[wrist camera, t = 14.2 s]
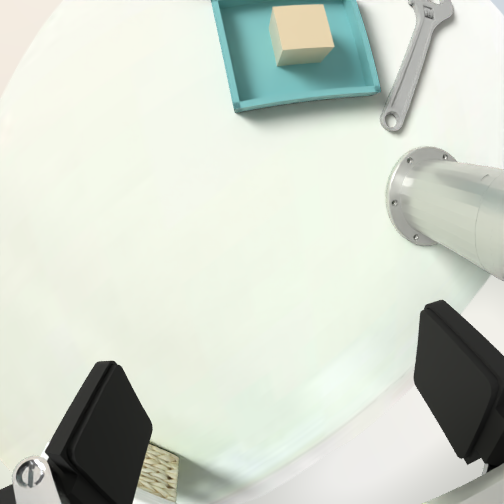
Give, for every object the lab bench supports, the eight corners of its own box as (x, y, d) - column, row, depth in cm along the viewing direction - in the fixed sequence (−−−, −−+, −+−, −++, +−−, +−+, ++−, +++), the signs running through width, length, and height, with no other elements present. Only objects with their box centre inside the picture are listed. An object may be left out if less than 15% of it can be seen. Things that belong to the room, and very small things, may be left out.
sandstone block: (311, 24, 28) (323, 4, 23) (320, 62, 30) (334, 46, 24) (268, 28, 29) (272, 6, 23) (276, 66, 30) (282, 50, 24)
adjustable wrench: (393, 136, 34) (399, 136, 32) (349, 107, 33) (354, 105, 31) (450, 6, 27) (457, 2, 25) (415, -21, 26) (420, -26, 24)
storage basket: (60, 432, 49) (35, 482, 35) (72, 394, 45) (38, 452, 31) (159, 481, 53) (148, 534, 39) (189, 453, 49) (179, 517, 35)
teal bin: (343, -5, 27) (350, -15, 25) (371, 95, 32) (381, 91, 29) (212, 7, 28) (210, -3, 25) (235, 113, 32) (234, 109, 30)
